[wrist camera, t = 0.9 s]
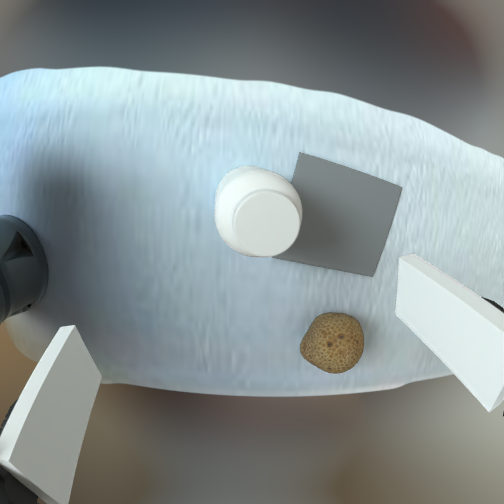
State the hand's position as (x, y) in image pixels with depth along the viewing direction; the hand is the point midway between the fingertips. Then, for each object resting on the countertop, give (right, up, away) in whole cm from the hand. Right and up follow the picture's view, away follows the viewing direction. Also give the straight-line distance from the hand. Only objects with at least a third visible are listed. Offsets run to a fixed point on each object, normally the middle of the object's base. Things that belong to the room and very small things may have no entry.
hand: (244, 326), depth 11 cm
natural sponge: (+11, -8, +34) cm, 37 cm away
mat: (+12, +7, +29) cm, 32 cm away
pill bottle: (0, +10, +26) cm, 28 cm away
